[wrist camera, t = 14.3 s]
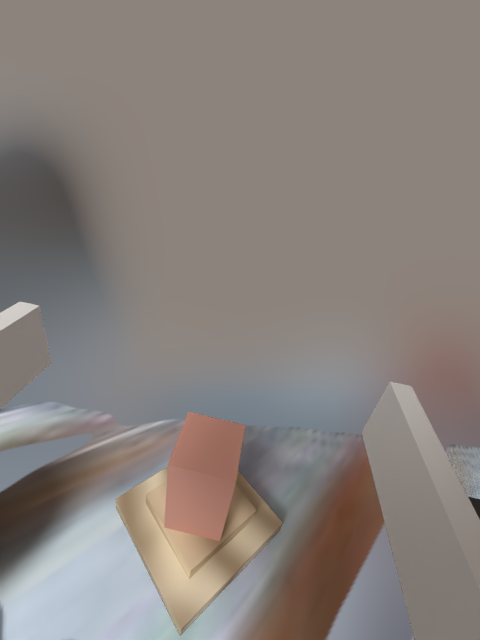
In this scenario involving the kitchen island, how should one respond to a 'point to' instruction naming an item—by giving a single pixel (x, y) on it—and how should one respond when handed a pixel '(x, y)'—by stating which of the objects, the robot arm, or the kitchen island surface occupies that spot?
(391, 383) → the robot arm
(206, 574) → the plinth
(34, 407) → the kitchen island surface
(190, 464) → the pillar
